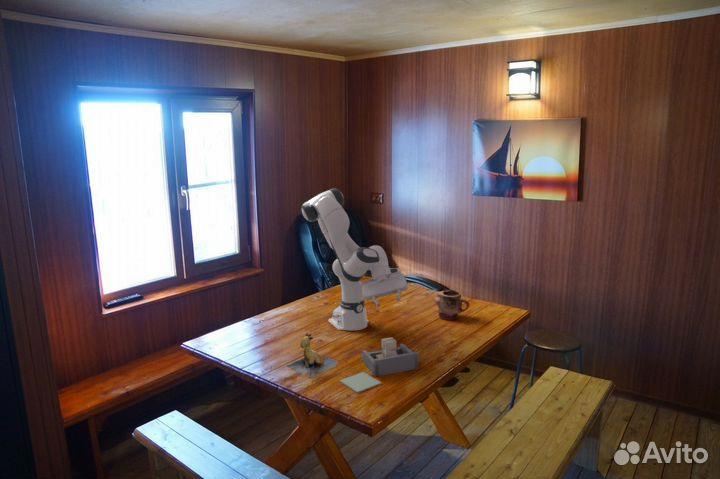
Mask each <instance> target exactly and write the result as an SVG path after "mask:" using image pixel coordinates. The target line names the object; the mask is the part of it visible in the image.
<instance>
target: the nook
mask: <svg viewBox="0 0 720 479" xmlns="http://www.w3.org/2000/svg"><path fill="white" fill-rule="evenodd" d="M361 353H362V356H361V357H362V358H361V360H362V362H363V363H364V365H365V366H366V367H367V368H368V369H369V371H370V372H371V373H372V374H373V375H374V377H375V378H376V377H380V376H385V375H392V374H396V373H402V372H407V371H411V370H418V369H419V352H418V351H412V350H411V349H410V348H408V346H406V345H405V344H404V343H400V344H399V347H396V355H395V356H389V357H384V358H383V357H382V349H381V350H376V351H369V352H368V351H367V349H363V350H361Z"/></svg>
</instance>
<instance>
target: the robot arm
mask: <svg viewBox="0 0 720 479" xmlns="http://www.w3.org/2000/svg"><path fill="white" fill-rule="evenodd" d="M344 204H345V199H344V195H343V193H342V191H341V190H339V189H338V188H336V187H335V188H330V189H328V190H326V191H323V192H321V193H318V194H317V195H315V196H314V197H311V199H309V200H307V201H305V202H304V203H302V204H301V214H302V216H303V218H304V219H305V220H306V221H308V222H310V223H312V222H313V223H314V222H316V221H317V222H318V225H319V228H320V231H321V232H322V234H323V235H324V238H325V240H326V241H327V244H328V245H329V247H330V248H331V249H332V250H333V252H334V254H335V256H336V259H335V260H334V261H333V263H332V271H333V273H334V275H335V276H337V277H338V279H339V282H340V285H341V299H339V302H340V304H339V306H338V307H336V308H335V309H334V310H333V311H332V317H330V318H329V319H328V322H329V323H330V325H332V326H333V327H335V329H337V330H338V331H351V332H352V331H360V330H364V329H366V328H367V327H368V324H369V322H370V321H369V319H368V317H367V309H366V306H365V305H366V302H368V301H371V300H372V302H374V304H375V306H376V307H380V305H381V304H380V302H379V300H376V299H378V298H383V297H387V296H390V295H394V294H398V295H396V302H400V301H401V296H402V294H403V293H402V292H406V291H408V290H409V286H408V282H407V279H406V277H405V275H404V274H403V273H402V272H401V269H400V268H399V267H396V268H395V267H394V268H393V267H392V268H391V267H390V266H389V260H388V255H387V254H386V251H385V250H384V248H383V247H382V246H380V245H371V246H369V247H366V246H365V247H363V246H362V247H360V246H359V245H358V244H357V243H356V242H355V241H354V240H353V239H352V238H351V236H350V234H349V233H348V231H349V228H350V218H349V216H348V213H347V212H346V211H345V209H344V208H343V207H344ZM367 271H370V275H371V277H372V278H371V279H370V280H366V281H363V282H361V280H362V278H363V277H364V275H365V274H366V273H367ZM365 301H366V302H365Z"/></svg>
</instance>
